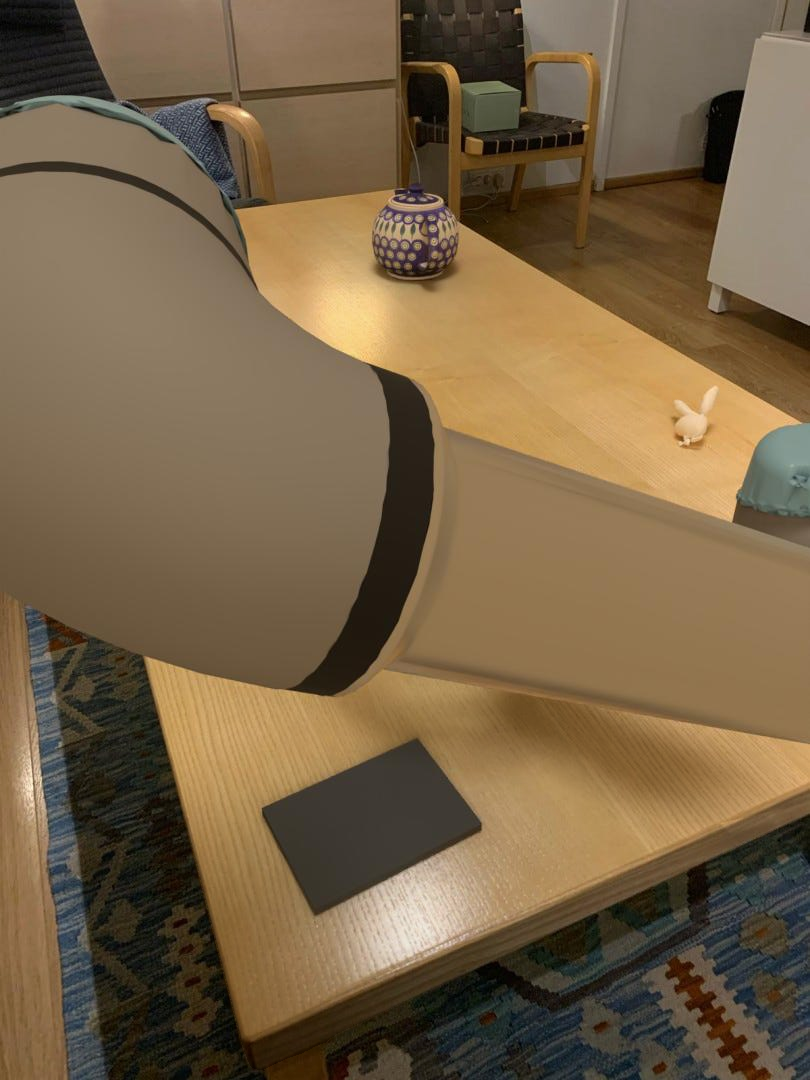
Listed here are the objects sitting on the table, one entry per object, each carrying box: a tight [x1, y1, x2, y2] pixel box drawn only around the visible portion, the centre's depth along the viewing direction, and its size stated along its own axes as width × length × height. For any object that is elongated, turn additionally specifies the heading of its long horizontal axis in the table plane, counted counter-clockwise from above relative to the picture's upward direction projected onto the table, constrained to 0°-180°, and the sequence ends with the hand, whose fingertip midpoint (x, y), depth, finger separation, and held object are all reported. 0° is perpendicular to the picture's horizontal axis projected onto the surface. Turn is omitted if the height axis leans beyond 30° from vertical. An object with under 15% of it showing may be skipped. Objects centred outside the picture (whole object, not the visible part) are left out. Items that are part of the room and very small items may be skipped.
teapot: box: [371, 182, 460, 281], centre depth 150 cm, size 25×15×15 cm, turn 11°
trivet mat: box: [260, 737, 483, 916], centre depth 62 cm, size 13×9×1 cm
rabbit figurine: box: [672, 385, 719, 447], centre depth 106 cm, size 6×4×8 cm
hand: (371, 503), depth 70 cm, fingers open, 13 cm apart
